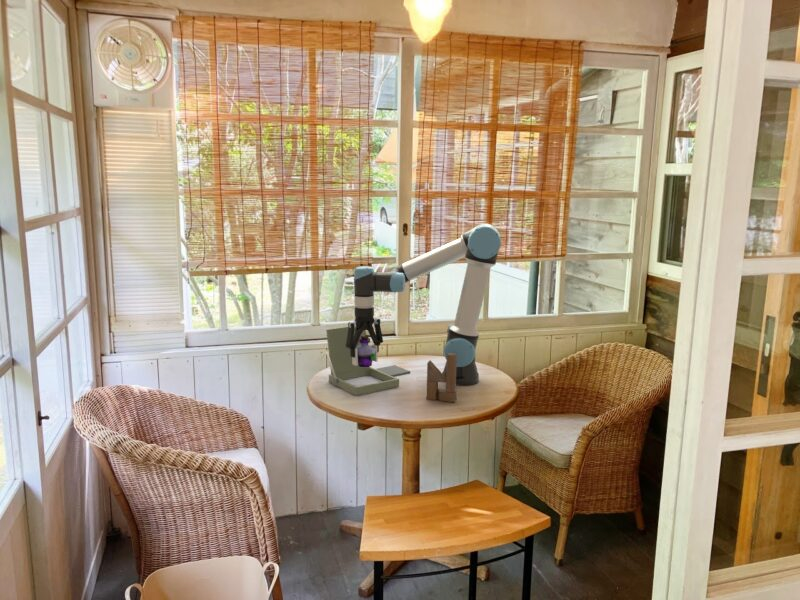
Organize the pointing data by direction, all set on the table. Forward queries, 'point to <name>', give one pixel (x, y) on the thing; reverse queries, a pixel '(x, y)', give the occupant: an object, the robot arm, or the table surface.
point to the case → (352, 366)
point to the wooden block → (442, 380)
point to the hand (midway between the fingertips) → (364, 362)
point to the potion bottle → (365, 352)
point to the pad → (394, 370)
